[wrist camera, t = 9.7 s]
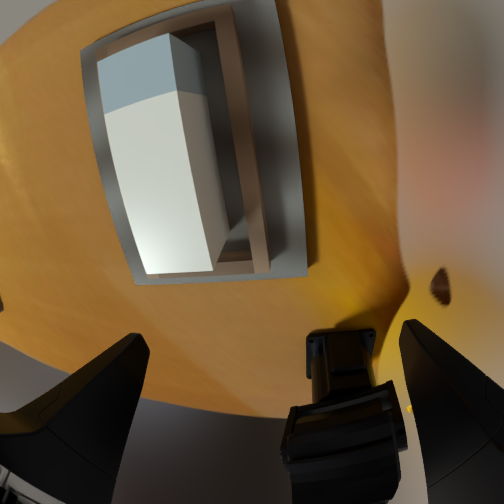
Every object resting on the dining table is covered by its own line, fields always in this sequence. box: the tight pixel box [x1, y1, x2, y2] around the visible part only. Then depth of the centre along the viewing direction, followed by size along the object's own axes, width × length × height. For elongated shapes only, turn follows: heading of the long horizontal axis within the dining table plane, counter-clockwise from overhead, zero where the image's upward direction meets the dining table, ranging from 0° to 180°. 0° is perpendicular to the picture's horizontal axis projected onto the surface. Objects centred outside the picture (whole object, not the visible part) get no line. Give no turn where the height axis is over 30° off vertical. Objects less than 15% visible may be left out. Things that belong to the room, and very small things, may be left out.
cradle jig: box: [80, 0, 308, 285], centre depth 16 cm, size 20×14×2 cm
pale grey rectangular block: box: [97, 33, 230, 274], centre depth 14 cm, size 12×4×5 cm, turn 8°
